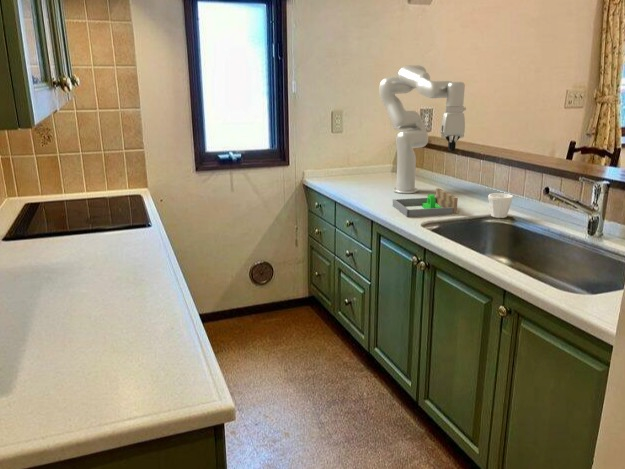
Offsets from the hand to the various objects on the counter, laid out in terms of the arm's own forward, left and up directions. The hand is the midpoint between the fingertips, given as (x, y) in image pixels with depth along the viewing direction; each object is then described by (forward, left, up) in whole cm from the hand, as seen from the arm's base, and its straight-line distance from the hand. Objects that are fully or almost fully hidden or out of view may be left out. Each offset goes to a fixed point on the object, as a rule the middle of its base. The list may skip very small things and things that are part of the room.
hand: (451, 150), depth 244 cm
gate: (+11, -6, -24) cm, 28 cm away
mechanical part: (+12, -13, -25) cm, 31 cm away
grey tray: (+11, -17, -25) cm, 32 cm away
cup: (+30, +10, -25) cm, 40 cm away
